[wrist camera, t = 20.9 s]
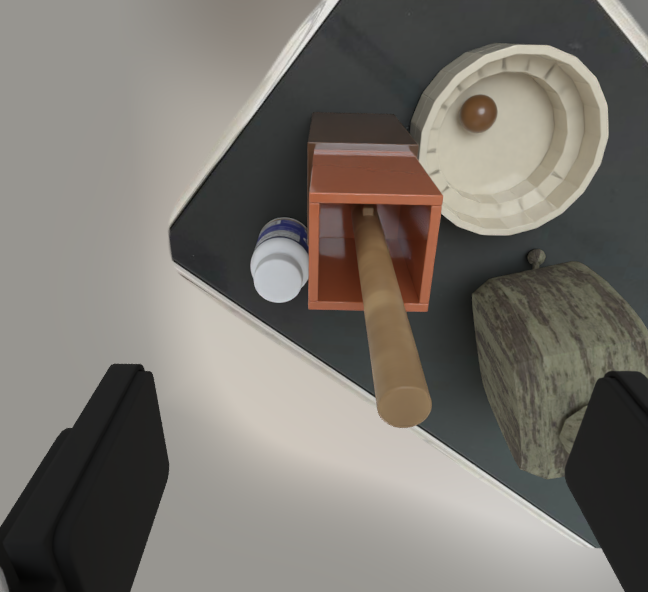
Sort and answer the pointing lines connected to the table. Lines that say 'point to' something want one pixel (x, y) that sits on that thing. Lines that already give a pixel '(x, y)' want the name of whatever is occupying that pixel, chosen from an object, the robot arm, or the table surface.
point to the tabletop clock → (551, 354)
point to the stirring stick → (388, 327)
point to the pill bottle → (280, 260)
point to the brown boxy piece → (367, 188)
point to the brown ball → (478, 113)
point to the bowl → (512, 136)
